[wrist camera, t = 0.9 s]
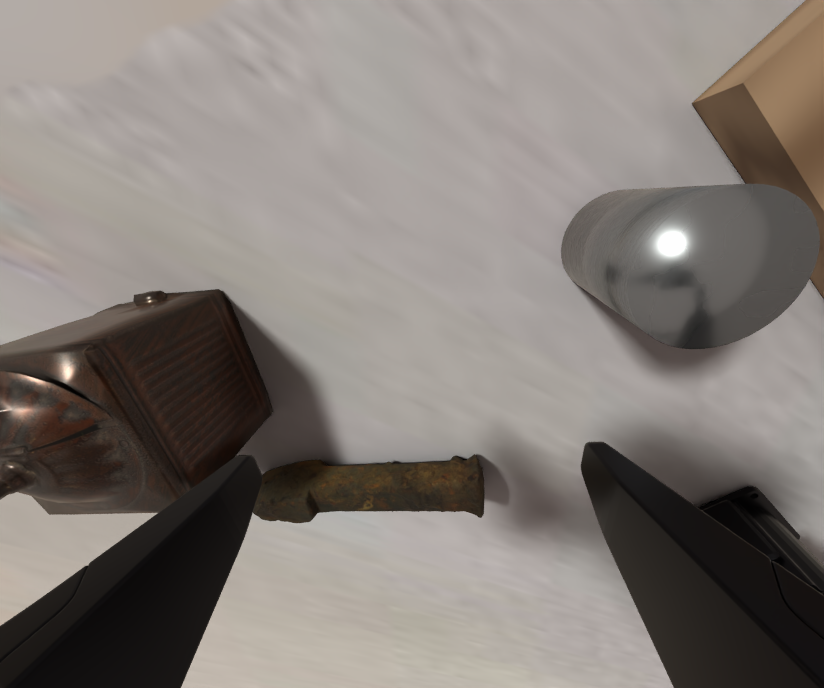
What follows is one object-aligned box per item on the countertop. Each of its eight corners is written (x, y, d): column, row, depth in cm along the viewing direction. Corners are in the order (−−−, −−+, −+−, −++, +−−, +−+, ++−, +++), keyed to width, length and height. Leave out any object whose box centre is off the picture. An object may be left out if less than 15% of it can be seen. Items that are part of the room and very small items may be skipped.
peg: (689, 243, 18) (852, 274, 10) (598, 310, 20) (682, 375, 12) (630, 165, 17) (766, 139, 9) (541, 245, 19) (595, 275, 11)
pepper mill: (221, 277, 22) (-460, 509, 6) (277, 413, 26) (-18, 770, 10) (43, 308, 25) (-756, 524, 8) (120, 426, 29) (-313, 722, 13)
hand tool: (481, 445, 25) (486, 494, 21) (482, 483, 27) (487, 536, 23) (258, 444, 28) (224, 487, 24) (271, 479, 30) (240, 525, 26)
